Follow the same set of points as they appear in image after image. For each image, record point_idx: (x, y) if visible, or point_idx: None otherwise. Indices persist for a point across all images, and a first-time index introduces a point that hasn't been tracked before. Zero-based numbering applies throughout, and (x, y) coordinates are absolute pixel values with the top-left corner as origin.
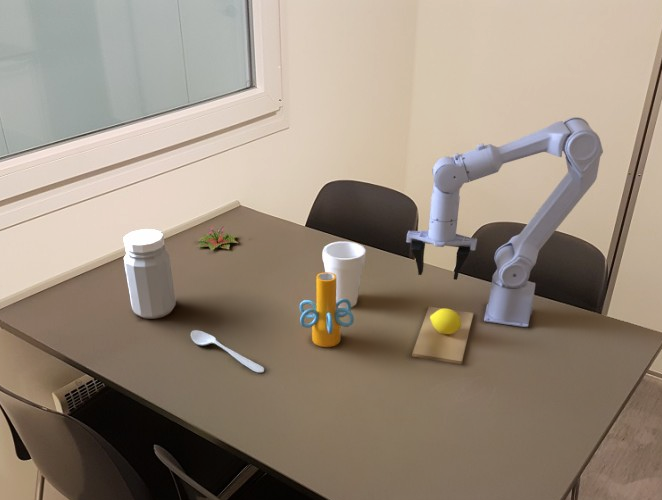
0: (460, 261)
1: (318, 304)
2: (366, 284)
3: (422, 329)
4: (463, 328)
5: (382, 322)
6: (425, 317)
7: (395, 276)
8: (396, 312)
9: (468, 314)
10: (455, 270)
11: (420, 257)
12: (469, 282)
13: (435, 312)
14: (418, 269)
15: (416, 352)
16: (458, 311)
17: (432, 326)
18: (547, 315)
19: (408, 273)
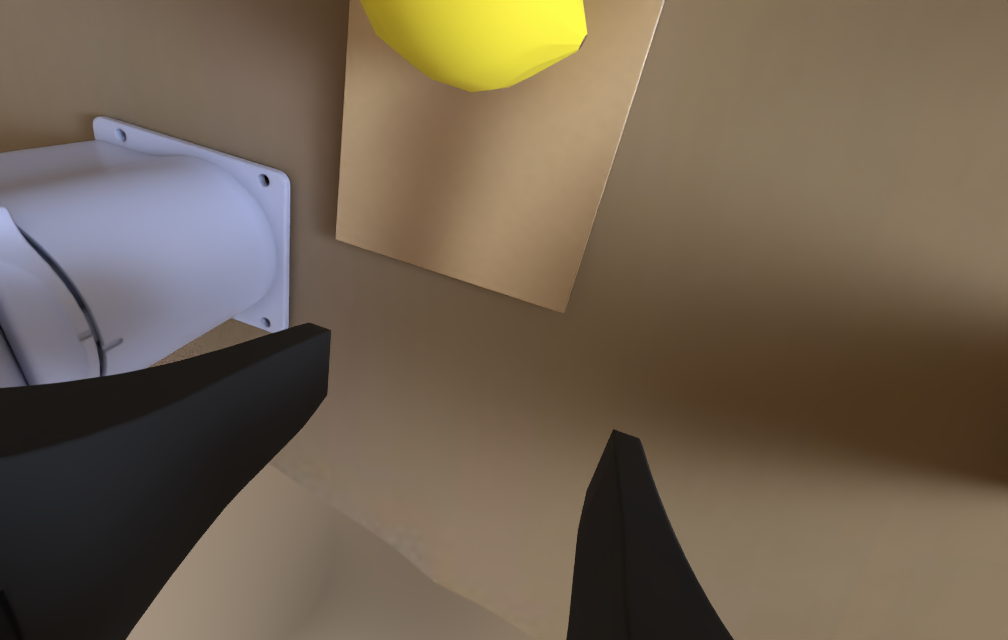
0: (90, 399)
1: None
2: (873, 573)
3: (647, 15)
4: (380, 54)
5: (919, 155)
6: (600, 189)
7: None
8: (771, 284)
9: (358, 224)
10: (253, 360)
11: (635, 599)
12: (369, 505)
13: (538, 8)
14: (646, 473)
15: None
16: (408, 256)
17: (570, 66)
18: None
19: None
